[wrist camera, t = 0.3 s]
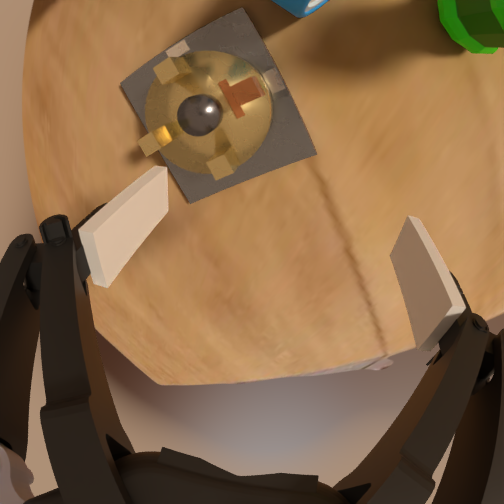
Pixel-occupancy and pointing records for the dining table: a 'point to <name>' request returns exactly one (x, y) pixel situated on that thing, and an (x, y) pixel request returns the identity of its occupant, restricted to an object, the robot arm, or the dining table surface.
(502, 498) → the robot arm
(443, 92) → the dining table surface
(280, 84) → the spindle plate
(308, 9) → the alarm clock
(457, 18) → the plastic bottle
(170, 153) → the notched brass disc
